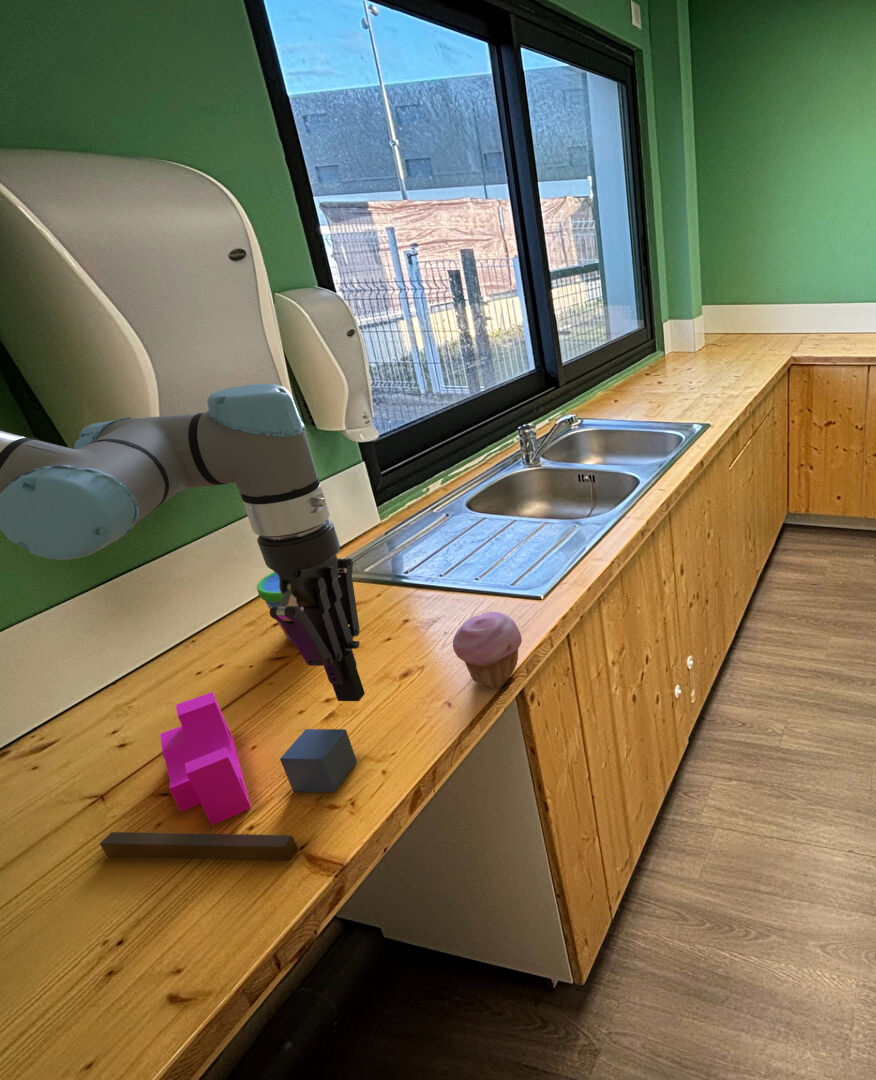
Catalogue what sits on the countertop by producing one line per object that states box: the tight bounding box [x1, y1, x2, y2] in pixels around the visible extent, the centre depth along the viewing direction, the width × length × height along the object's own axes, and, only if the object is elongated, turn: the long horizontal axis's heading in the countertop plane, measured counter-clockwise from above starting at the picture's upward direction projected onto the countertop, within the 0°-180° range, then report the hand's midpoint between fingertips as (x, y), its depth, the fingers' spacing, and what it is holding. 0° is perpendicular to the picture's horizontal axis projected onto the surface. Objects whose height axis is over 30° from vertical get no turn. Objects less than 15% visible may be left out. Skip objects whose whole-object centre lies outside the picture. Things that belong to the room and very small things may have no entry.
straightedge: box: [99, 831, 299, 861], centre depth 73 cm, size 20×2×2 cm, turn 87°
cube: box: [279, 728, 358, 793], centre depth 82 cm, size 5×5×5 cm
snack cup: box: [256, 571, 294, 644], centre depth 110 cm, size 16×10×10 cm
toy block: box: [159, 691, 252, 826], centre depth 81 cm, size 15×6×8 cm, turn 39°
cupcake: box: [452, 611, 523, 689], centre depth 97 cm, size 9×9×10 cm
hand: (351, 697), depth 88 cm, fingers closed
